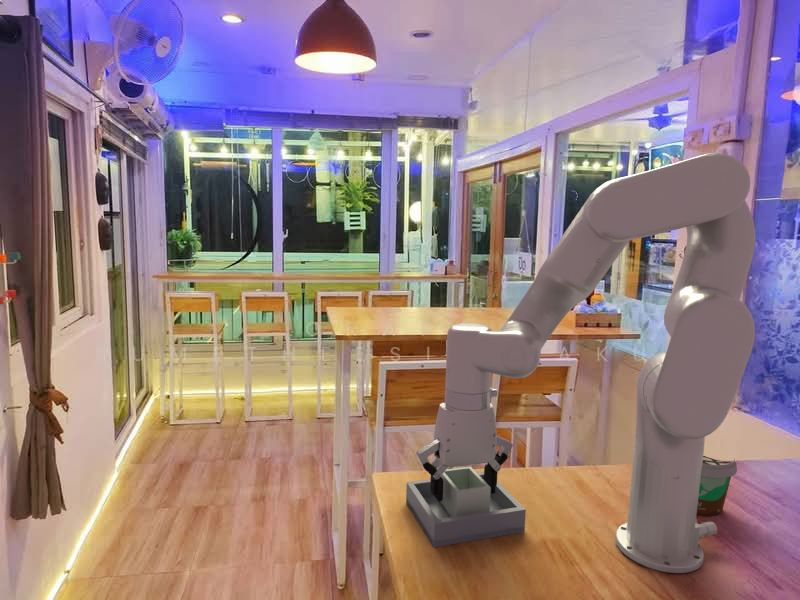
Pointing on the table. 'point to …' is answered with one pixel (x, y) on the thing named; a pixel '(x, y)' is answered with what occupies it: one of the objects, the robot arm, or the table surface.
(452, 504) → the small crate
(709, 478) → the food container
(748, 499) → the table surface
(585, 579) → the table surface
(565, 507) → the table surface
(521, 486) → the table surface
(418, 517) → the big crate
